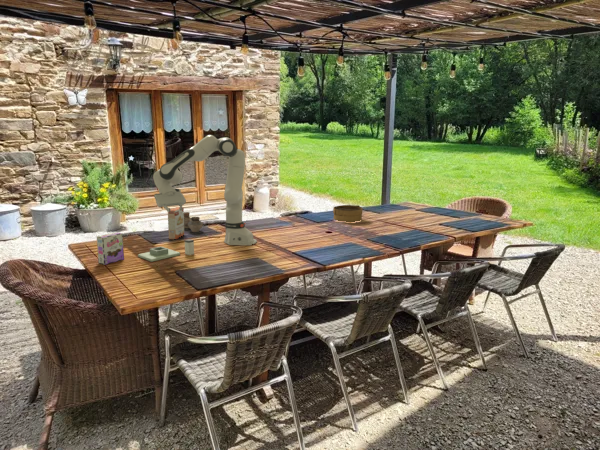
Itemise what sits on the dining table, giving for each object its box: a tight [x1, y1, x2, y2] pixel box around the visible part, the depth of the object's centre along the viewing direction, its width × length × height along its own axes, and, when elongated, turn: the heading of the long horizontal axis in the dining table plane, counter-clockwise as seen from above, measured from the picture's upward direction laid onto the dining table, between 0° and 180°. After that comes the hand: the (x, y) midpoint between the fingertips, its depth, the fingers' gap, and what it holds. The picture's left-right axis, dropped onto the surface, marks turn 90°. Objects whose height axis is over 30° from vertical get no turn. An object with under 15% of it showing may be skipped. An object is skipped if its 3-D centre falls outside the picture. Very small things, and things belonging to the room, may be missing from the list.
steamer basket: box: [332, 204, 363, 222], centre depth 398 cm, size 25×25×11 cm
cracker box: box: [167, 206, 185, 240], centre depth 333 cm, size 14×6×21 cm, turn 168°
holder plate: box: [137, 246, 181, 263], centre depth 289 cm, size 20×15×4 cm
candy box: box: [96, 231, 125, 266], centre depth 276 cm, size 14×6×16 cm, turn 148°
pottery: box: [184, 211, 204, 233], centre depth 358 cm, size 11×25×12 cm, turn 41°
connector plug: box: [184, 238, 195, 256], centre depth 294 cm, size 4×4×9 cm
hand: (175, 210), depth 299 cm, fingers open, 8 cm apart
